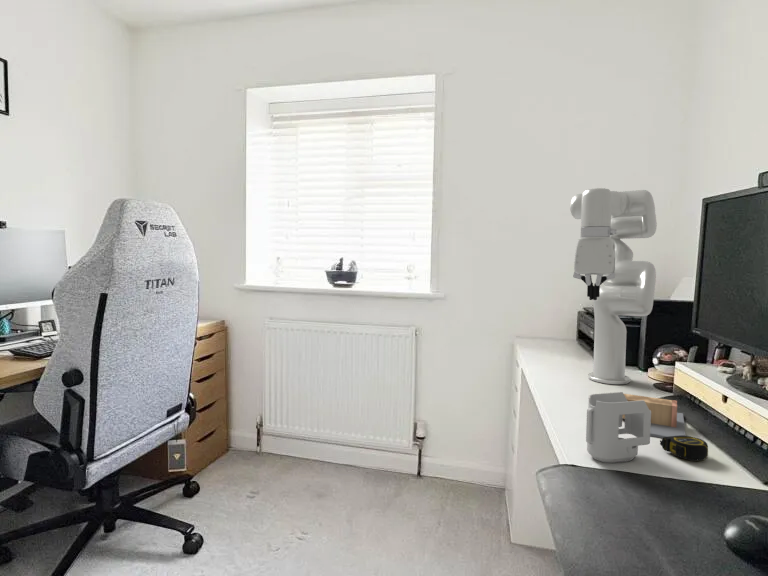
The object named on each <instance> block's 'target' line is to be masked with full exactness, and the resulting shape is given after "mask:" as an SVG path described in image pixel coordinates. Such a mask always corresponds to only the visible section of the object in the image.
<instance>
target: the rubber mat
mask: <svg viewBox="0 0 768 576" xmlns="http://www.w3.org/2000/svg"><path fill="white" fill-rule="evenodd" d="M679 435H685V436H686V429H685V419H684V413H683V412H677V425H676V427H671V426H665V425H659V424H653V423H651V429H650V437H653V438H660V439H662V438H663V437H668V436H679Z"/></svg>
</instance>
